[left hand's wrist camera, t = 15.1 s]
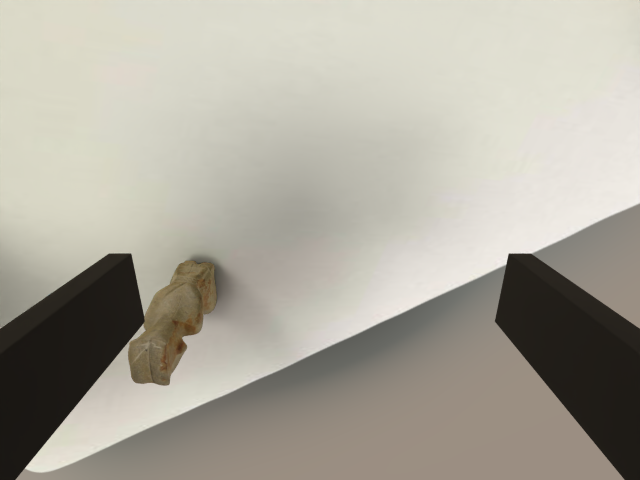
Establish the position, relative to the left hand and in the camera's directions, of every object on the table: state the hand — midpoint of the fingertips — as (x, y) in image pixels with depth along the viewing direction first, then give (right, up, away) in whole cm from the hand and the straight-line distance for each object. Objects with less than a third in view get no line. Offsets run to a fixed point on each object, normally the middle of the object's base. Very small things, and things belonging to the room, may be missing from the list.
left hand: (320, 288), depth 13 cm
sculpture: (-15, -3, +32) cm, 36 cm away
